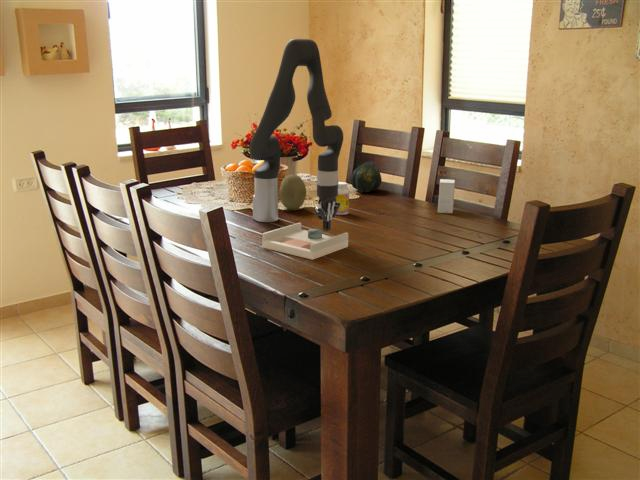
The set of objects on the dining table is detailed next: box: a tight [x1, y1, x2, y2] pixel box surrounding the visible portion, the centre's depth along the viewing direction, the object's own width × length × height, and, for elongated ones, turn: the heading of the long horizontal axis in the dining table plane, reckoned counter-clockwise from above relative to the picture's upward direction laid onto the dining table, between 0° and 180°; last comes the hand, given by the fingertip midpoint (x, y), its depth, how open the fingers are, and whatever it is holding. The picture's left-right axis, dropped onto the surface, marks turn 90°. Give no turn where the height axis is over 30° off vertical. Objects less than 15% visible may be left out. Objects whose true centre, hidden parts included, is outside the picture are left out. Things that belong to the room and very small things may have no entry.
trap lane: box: [261, 222, 349, 260], centre depth 246 cm, size 22×20×5 cm
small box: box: [437, 178, 456, 214], centre depth 301 cm, size 8×6×13 cm
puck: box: [307, 228, 323, 239], centre depth 250 cm, size 5×5×2 cm
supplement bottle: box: [335, 181, 350, 216], centre depth 294 cm, size 7×7×13 cm
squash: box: [350, 160, 383, 193], centre depth 339 cm, size 14×15×15 cm
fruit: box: [278, 174, 307, 210], centre depth 300 cm, size 11×11×15 cm
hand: (326, 230), depth 255 cm, fingers closed
